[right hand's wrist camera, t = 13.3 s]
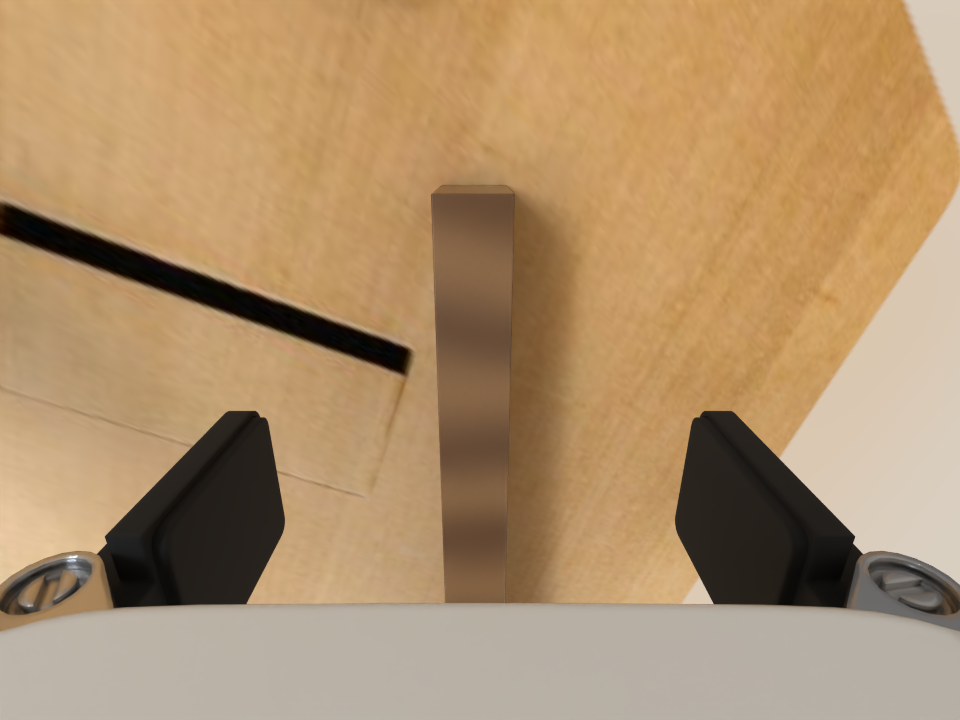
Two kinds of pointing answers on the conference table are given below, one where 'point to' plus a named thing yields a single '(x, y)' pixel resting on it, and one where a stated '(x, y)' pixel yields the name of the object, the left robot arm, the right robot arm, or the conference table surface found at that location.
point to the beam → (473, 382)
